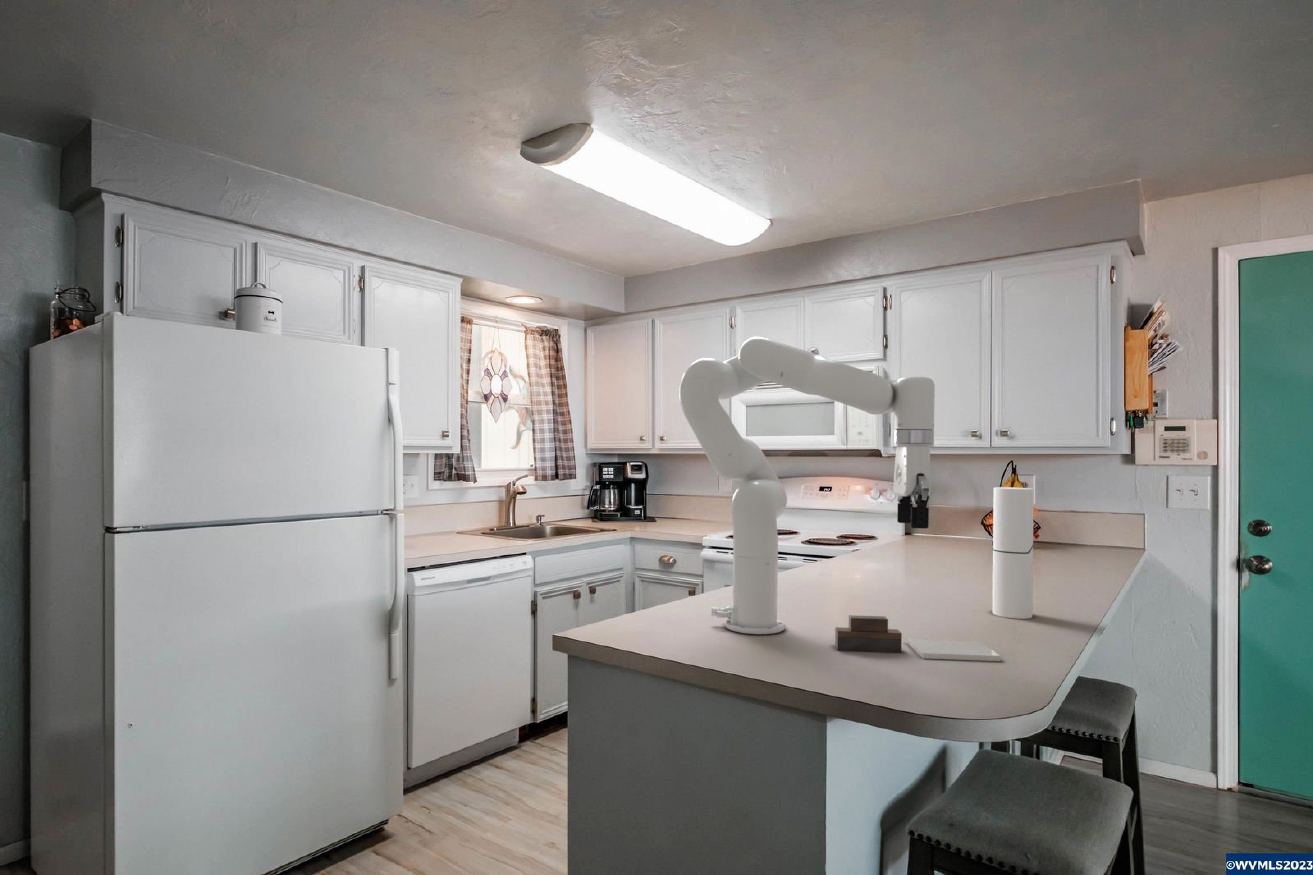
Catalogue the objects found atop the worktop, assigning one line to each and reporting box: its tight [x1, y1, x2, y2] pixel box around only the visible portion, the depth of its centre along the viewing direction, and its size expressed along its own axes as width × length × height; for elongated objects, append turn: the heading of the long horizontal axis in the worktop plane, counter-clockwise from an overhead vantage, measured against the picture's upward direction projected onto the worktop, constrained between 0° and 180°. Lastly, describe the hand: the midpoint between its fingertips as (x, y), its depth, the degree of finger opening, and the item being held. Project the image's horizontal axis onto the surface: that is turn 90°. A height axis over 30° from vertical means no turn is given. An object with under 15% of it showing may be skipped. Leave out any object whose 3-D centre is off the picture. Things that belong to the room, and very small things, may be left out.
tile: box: [908, 638, 1002, 662], centre depth 142 cm, size 14×10×1 cm
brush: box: [834, 614, 903, 654], centre depth 143 cm, size 12×3×6 cm, turn 86°
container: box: [991, 486, 1035, 620], centre depth 176 cm, size 9×9×30 cm
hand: (912, 525), depth 147 cm, fingers open, 9 cm apart
